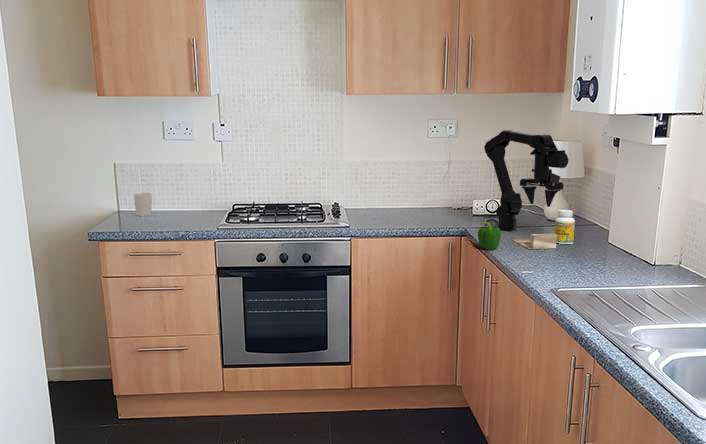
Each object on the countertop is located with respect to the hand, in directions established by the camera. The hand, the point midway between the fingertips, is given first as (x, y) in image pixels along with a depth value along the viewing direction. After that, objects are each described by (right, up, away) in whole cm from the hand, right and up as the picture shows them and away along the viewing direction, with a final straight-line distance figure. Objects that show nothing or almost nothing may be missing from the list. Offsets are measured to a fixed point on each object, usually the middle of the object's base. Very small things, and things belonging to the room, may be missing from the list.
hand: (540, 205), depth 246 cm
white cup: (-174, -4, +42) cm, 179 cm away
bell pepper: (-25, -17, -18) cm, 35 cm away
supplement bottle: (+6, -15, -8) cm, 18 cm away
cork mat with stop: (-5, -15, -11) cm, 20 cm away
